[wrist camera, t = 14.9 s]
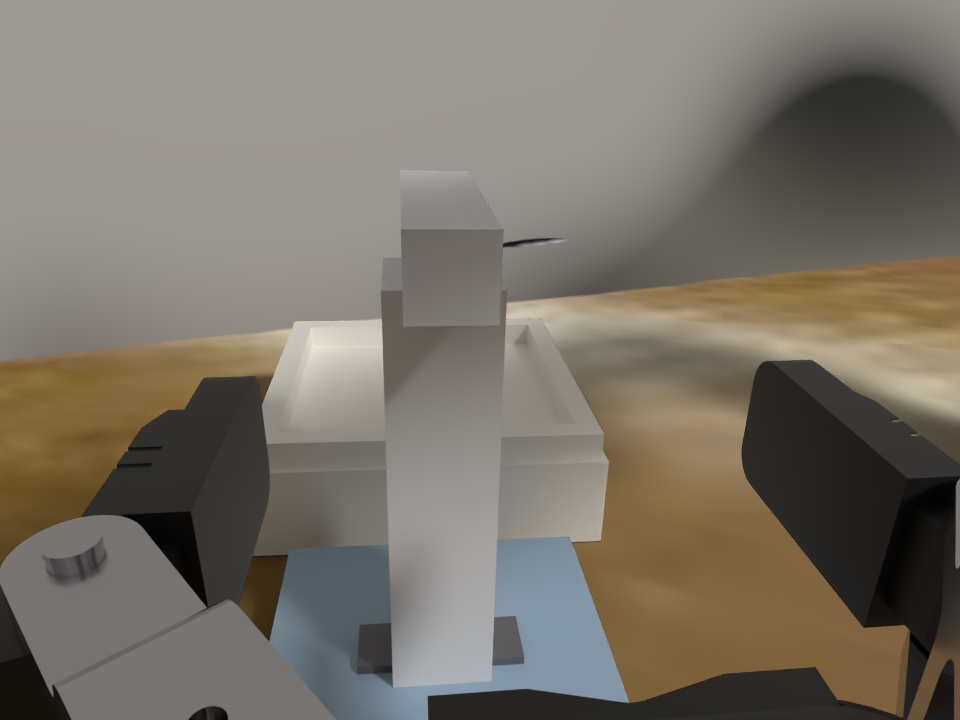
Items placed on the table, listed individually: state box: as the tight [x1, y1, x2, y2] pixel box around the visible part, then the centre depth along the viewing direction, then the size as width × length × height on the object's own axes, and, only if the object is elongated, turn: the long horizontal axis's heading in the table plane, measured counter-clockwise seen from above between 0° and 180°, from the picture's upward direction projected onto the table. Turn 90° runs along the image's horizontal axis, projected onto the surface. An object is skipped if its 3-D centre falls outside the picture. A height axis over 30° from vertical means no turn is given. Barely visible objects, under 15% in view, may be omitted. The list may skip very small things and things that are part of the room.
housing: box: [253, 319, 609, 556], centre depth 37 cm, size 15×15×5 cm
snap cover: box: [269, 171, 629, 720], centre depth 21 cm, size 11×11×16 cm
